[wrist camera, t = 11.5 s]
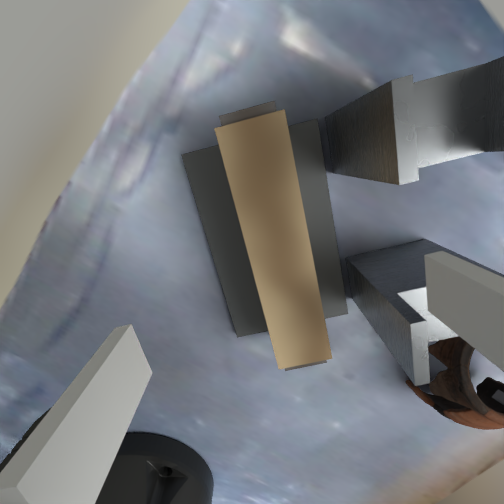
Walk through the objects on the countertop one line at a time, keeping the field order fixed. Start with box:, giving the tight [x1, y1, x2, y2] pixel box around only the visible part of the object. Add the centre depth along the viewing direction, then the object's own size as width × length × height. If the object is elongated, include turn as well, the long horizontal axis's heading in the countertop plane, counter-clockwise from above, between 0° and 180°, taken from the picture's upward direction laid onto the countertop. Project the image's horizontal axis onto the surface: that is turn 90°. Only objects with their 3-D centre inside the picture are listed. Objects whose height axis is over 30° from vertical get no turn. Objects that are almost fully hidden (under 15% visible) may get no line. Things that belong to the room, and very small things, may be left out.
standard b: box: [325, 56, 504, 185], centre depth 16 cm, size 7×4×10 cm, turn 104°
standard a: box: [346, 239, 504, 386], centre depth 19 cm, size 7×4×10 cm, turn 104°
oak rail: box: [214, 101, 332, 371], centre depth 20 cm, size 4×18×4 cm, turn 14°
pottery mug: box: [406, 336, 504, 430], centre depth 24 cm, size 12×10×8 cm
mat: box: [181, 119, 348, 337], centre depth 23 cm, size 10×16×1 cm, turn 14°
